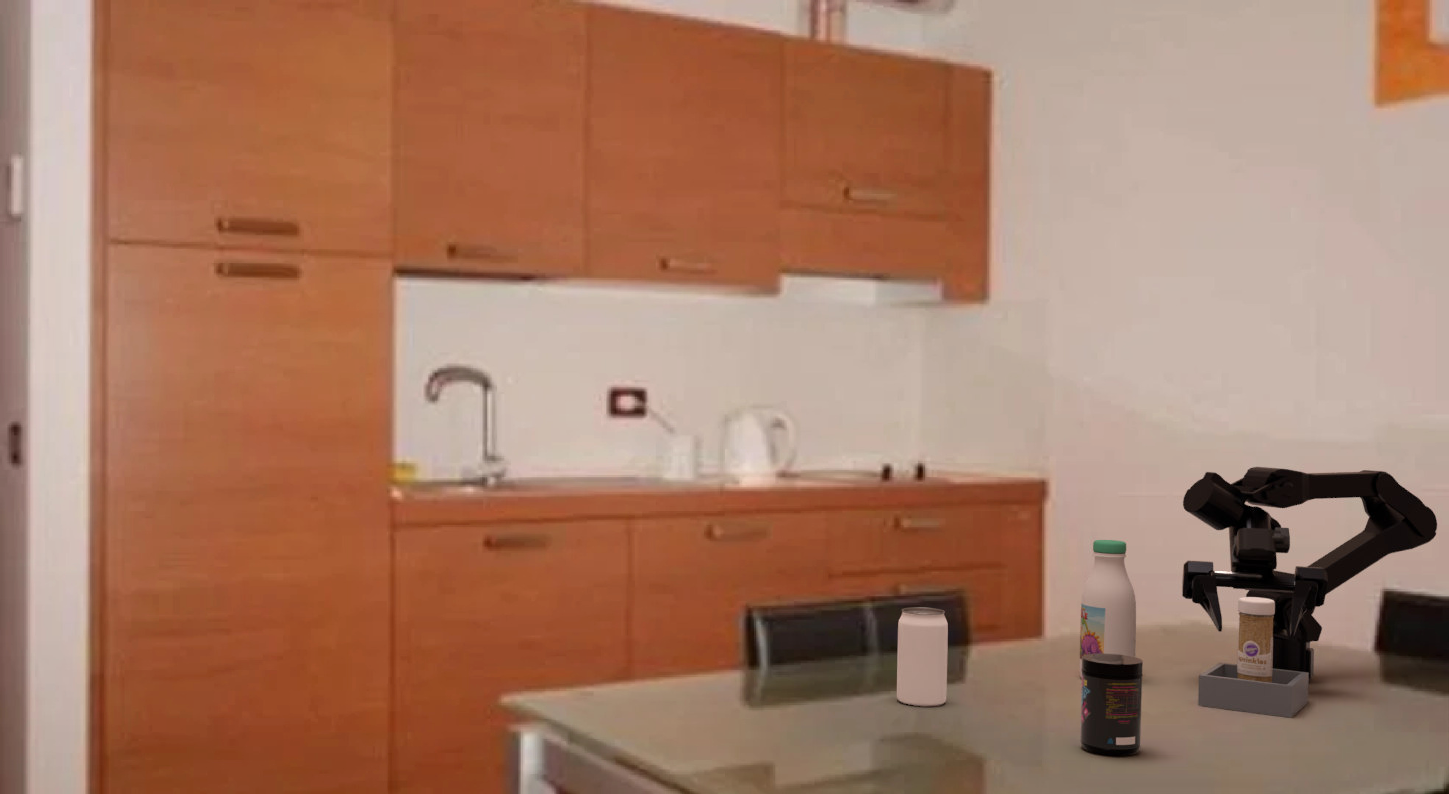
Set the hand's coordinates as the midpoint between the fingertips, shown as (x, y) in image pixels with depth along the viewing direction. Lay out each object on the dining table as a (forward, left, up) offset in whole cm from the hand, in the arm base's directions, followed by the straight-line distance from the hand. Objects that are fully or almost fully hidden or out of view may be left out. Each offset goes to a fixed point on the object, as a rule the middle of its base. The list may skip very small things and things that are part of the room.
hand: (1256, 632), depth 187 cm
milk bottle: (-20, +1, -9) cm, 22 cm away
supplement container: (-7, -40, -9) cm, 42 cm away
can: (-35, -30, -9) cm, 48 cm away
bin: (+1, -3, -9) cm, 10 cm away
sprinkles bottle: (+1, -3, -9) cm, 9 cm away
